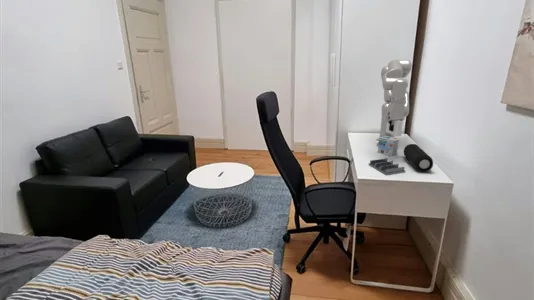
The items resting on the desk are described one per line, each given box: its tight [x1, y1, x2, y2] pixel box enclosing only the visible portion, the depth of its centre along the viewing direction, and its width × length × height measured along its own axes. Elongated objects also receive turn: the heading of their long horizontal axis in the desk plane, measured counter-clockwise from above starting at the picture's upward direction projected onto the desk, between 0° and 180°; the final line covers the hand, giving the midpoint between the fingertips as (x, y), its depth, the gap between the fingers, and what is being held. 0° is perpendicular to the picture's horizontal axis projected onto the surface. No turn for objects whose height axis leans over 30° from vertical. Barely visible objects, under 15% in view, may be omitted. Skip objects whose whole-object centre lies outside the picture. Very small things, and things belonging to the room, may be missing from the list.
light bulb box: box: [377, 136, 400, 157], centre depth 195 cm, size 11×7×11 cm, turn 40°
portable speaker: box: [403, 143, 434, 173], centre depth 176 cm, size 26×10×10 cm, turn 172°
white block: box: [386, 119, 404, 137], centre depth 179 cm, size 10×3×9 cm, turn 17°
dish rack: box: [368, 157, 406, 176], centre depth 171 cm, size 16×13×3 cm
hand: (393, 130), depth 180 cm, fingers closed on white block, 3 cm apart
